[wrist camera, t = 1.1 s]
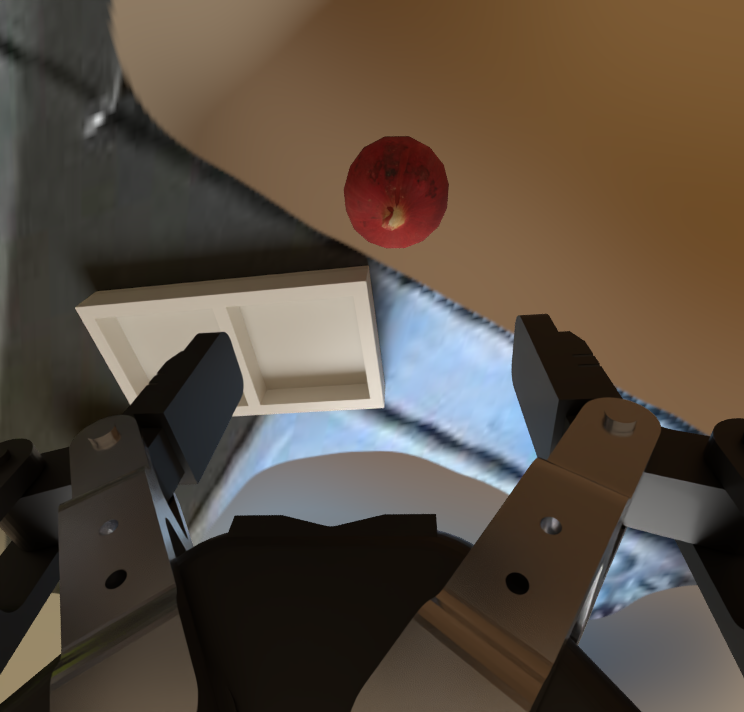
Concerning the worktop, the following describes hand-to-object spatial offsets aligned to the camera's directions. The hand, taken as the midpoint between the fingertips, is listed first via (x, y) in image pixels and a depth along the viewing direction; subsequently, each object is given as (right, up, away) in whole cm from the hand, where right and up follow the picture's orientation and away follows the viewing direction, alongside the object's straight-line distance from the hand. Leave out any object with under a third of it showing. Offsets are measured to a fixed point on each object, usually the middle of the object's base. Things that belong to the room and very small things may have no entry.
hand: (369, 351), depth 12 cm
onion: (+2, +11, +15) cm, 19 cm away
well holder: (-10, +1, +23) cm, 25 cm away
